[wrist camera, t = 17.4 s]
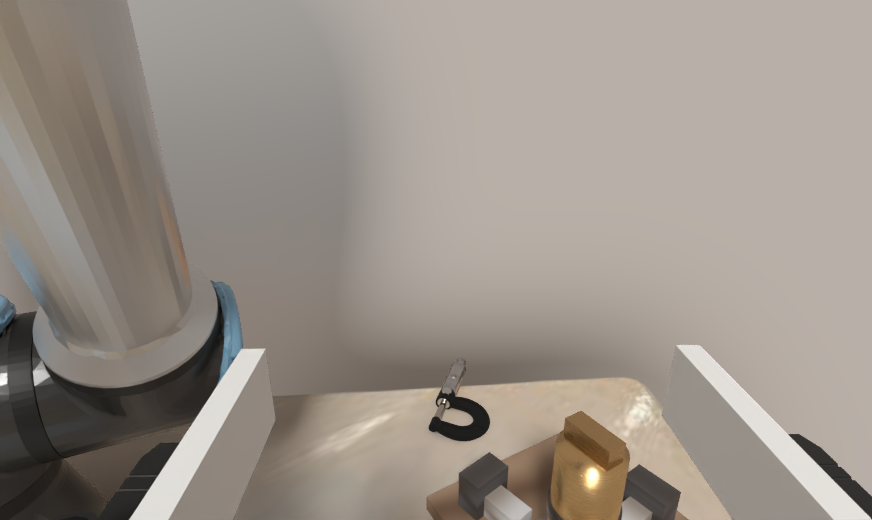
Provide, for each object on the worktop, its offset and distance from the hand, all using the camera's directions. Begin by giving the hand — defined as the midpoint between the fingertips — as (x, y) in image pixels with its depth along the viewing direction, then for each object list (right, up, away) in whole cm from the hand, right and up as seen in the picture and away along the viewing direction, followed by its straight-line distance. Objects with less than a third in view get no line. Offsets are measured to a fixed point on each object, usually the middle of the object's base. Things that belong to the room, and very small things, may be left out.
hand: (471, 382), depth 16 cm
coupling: (+10, -21, +24) cm, 33 cm away
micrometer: (+3, -14, +47) cm, 50 cm away
